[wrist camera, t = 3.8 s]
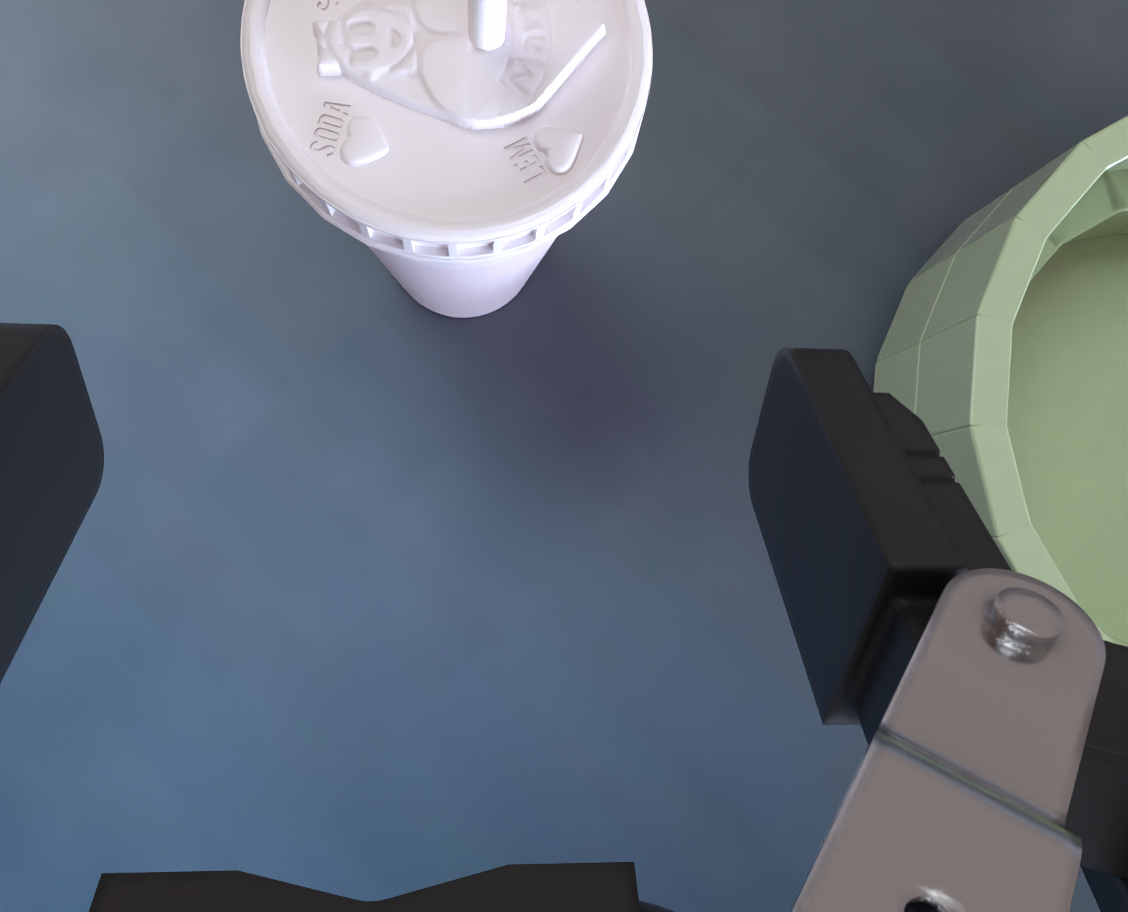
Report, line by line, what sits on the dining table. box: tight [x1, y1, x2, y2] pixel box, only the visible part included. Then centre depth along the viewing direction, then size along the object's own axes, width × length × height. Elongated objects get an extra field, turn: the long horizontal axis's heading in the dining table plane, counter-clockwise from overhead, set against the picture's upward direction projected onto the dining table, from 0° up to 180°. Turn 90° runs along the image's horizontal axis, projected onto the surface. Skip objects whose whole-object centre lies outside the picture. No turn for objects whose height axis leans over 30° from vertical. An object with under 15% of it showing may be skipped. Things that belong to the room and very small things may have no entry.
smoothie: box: [240, 0, 653, 318], centre depth 17 cm, size 6×6×14 cm
